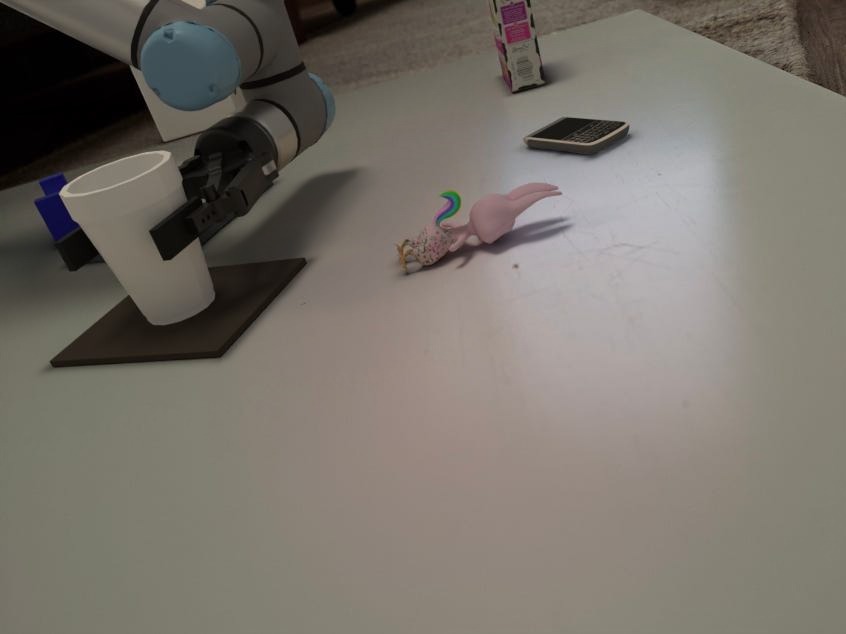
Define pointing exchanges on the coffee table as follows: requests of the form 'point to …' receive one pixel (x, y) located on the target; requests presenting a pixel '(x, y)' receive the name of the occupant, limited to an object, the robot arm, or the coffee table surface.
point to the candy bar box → (516, 43)
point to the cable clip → (55, 207)
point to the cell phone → (577, 135)
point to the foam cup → (141, 233)
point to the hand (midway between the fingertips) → (111, 251)
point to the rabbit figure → (473, 221)
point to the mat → (193, 337)
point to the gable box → (185, 122)
